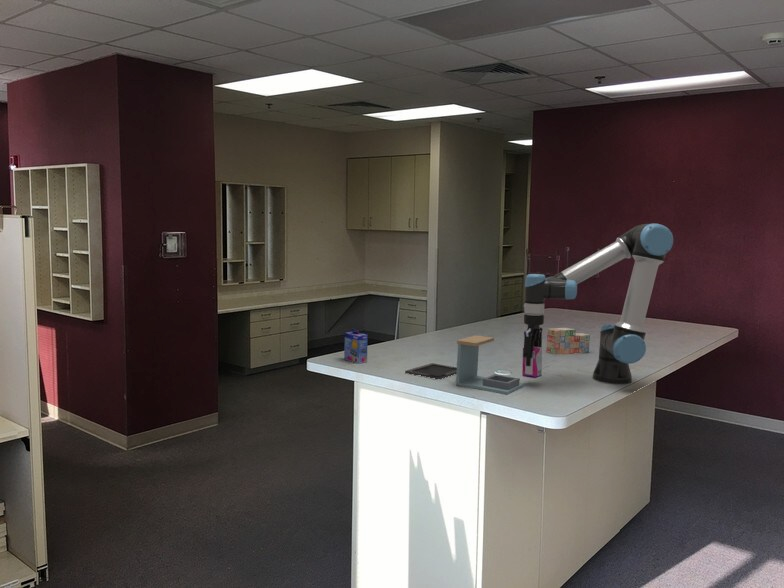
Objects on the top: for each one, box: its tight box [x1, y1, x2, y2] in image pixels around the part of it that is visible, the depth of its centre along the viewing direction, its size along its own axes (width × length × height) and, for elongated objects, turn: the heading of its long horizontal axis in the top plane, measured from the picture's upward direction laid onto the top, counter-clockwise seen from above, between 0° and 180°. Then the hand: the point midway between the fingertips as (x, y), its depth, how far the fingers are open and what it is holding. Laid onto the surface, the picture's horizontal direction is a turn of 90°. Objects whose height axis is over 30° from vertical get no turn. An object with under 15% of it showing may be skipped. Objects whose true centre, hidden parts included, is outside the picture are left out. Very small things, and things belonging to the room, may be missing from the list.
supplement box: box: [521, 346, 543, 379], centre depth 258 cm, size 6×6×12 cm
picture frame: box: [405, 362, 457, 380], centre depth 272 cm, size 16×2×21 cm
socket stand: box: [455, 335, 525, 395], centre depth 252 cm, size 22×16×17 cm
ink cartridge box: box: [343, 328, 369, 364], centre depth 288 cm, size 10×6×14 cm, turn 44°
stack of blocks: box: [546, 327, 591, 356], centre depth 328 cm, size 21×6×12 cm, turn 113°
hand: (532, 372), depth 258 cm, fingers closed on supplement box, 6 cm apart
